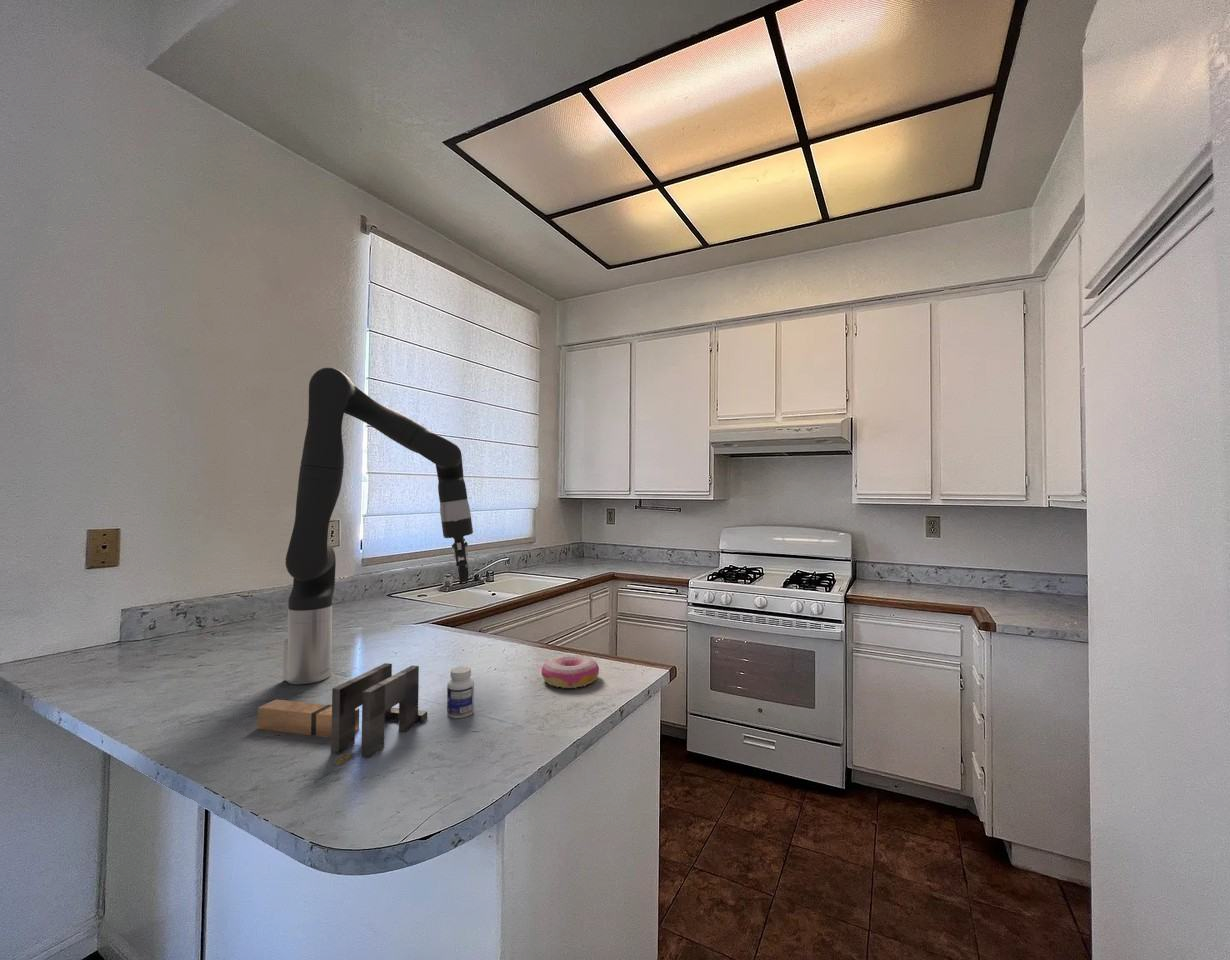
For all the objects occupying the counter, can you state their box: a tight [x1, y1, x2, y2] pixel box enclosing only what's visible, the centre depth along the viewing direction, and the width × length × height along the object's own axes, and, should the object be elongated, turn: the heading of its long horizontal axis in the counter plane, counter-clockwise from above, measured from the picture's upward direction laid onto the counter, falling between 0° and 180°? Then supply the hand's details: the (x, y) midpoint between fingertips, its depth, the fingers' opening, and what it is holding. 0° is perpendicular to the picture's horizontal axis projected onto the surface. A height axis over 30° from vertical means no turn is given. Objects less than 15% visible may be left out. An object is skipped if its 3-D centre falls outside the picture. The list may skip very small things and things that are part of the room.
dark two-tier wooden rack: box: [330, 662, 428, 766], centre depth 95 cm, size 9×19×11 cm, turn 167°
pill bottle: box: [446, 666, 475, 719], centre depth 106 cm, size 5×5×9 cm
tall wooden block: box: [257, 699, 360, 738], centre depth 99 cm, size 19×4×4 cm, turn 77°
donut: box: [541, 654, 600, 689], centre depth 125 cm, size 14×13×5 cm
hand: (464, 579), depth 137 cm, fingers open, 8 cm apart
